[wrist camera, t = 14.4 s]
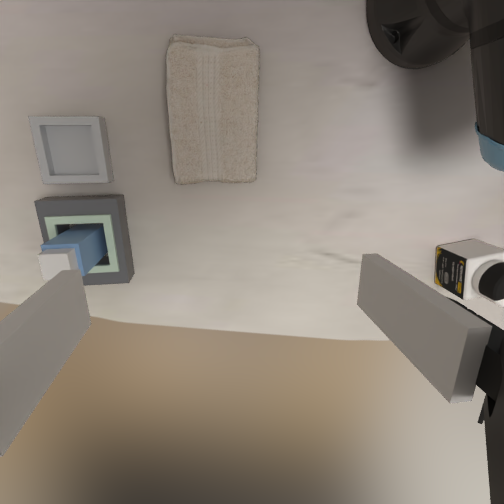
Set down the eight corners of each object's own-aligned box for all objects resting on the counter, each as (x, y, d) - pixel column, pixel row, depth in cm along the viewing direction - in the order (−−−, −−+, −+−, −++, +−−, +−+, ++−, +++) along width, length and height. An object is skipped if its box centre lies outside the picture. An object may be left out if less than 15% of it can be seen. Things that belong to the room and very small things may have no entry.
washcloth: (257, 42, 40) (261, 34, 38) (257, 182, 46) (260, 184, 43) (164, 38, 39) (160, 29, 36) (175, 183, 45) (173, 185, 42)
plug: (76, 224, 44) (31, 250, 33) (105, 223, 45) (71, 248, 33) (81, 250, 46) (39, 285, 34) (110, 249, 46) (77, 282, 35)
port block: (47, 196, 43) (32, 201, 39) (123, 194, 44) (115, 199, 40) (65, 277, 46) (52, 288, 43) (134, 273, 48) (128, 284, 44)
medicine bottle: (435, 245, 53) (496, 272, 42) (474, 238, 54) (545, 262, 42) (433, 283, 55) (491, 317, 44) (470, 275, 56) (536, 307, 45)
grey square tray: (38, 118, 40) (28, 116, 37) (104, 118, 40) (98, 116, 38) (52, 182, 42) (43, 184, 40) (113, 180, 43) (108, 182, 41)
